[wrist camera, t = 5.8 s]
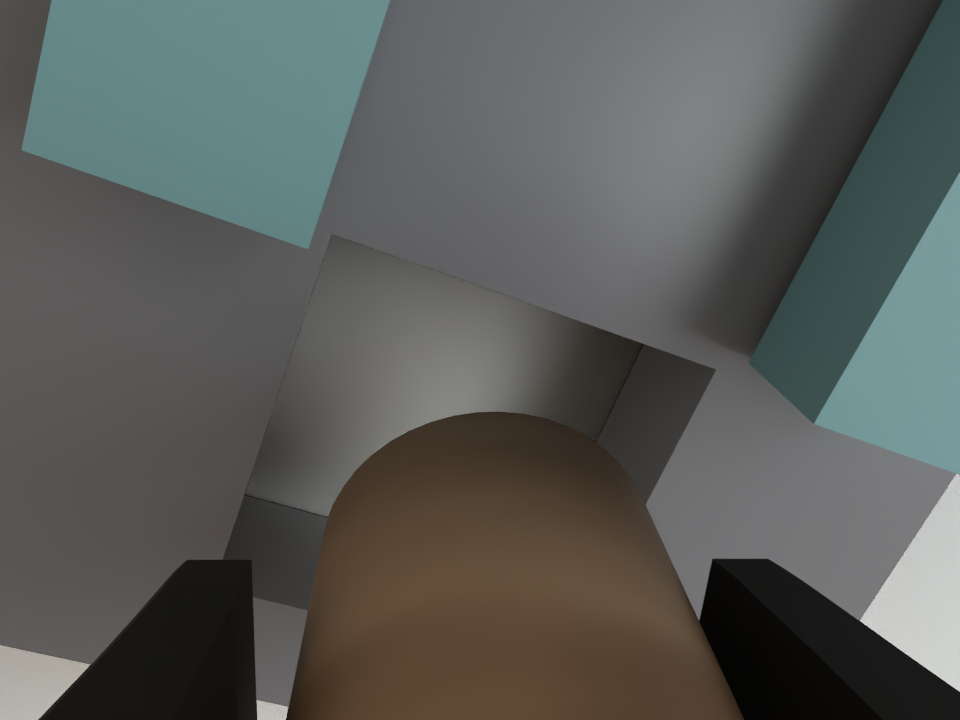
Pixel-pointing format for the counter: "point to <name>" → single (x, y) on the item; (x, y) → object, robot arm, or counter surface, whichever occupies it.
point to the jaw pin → (500, 588)
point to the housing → (467, 256)
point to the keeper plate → (327, 116)
